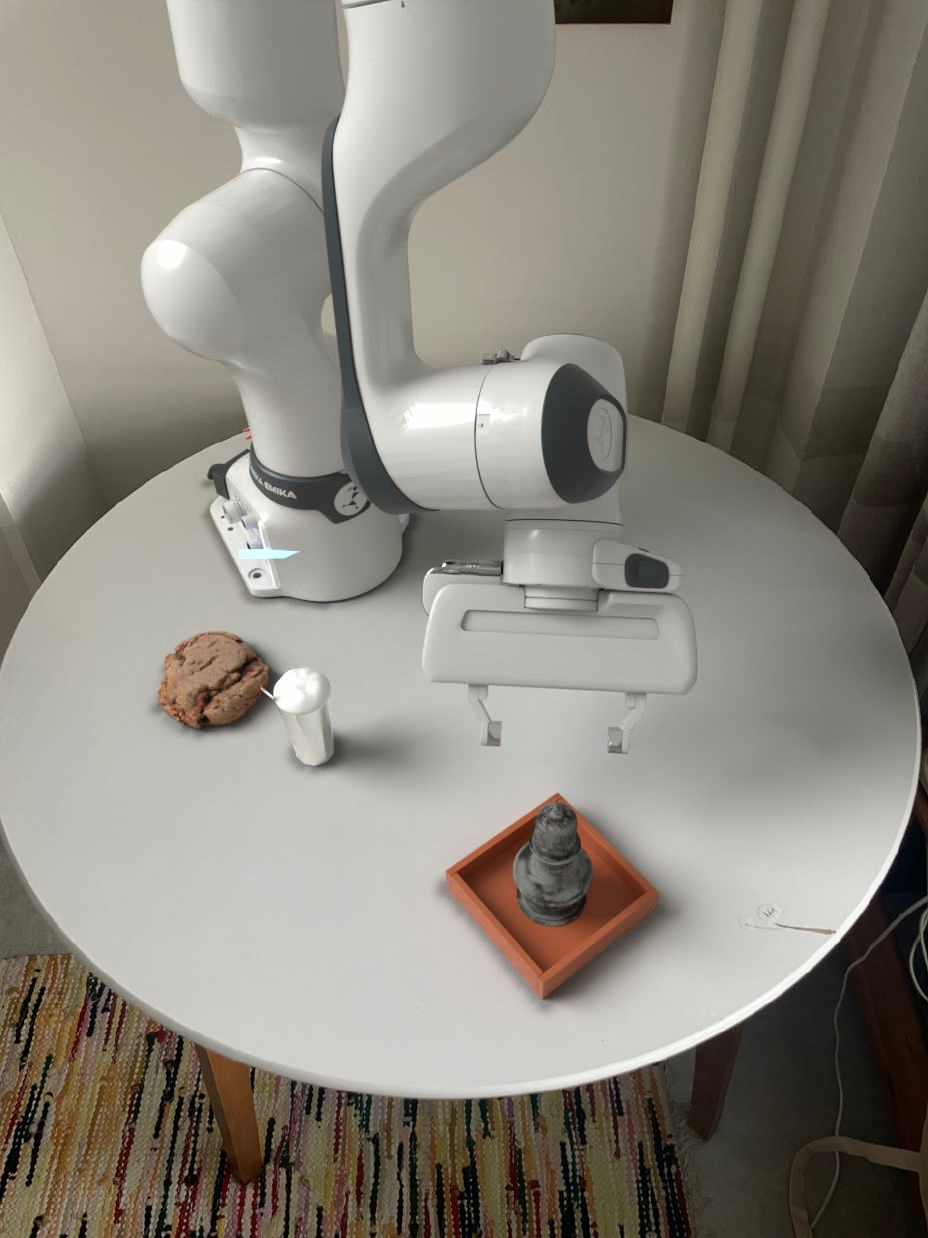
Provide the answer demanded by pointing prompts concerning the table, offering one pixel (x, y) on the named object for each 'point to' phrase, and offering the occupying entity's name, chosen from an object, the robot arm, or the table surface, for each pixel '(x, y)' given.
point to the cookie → (211, 680)
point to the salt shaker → (553, 868)
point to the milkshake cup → (306, 713)
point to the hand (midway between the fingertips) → (553, 749)
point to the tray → (536, 947)
